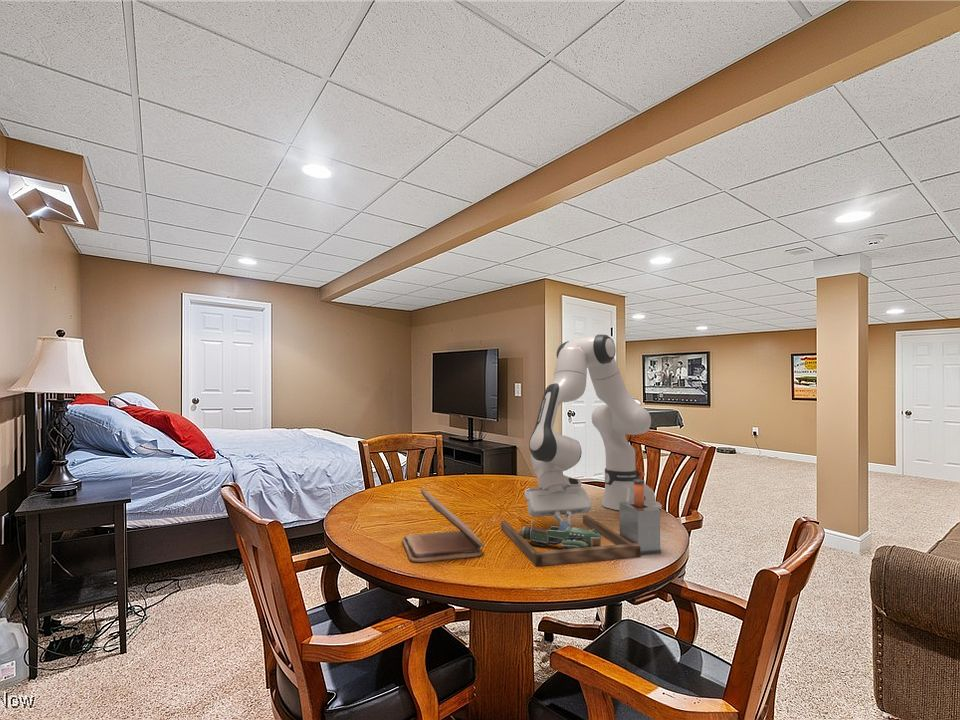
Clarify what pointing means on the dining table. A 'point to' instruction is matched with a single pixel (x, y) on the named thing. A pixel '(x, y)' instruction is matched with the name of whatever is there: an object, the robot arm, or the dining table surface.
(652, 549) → the grey holder box
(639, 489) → the orange and black cylinder
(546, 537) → the hoverbike
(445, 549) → the case
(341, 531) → the dining table surface
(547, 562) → the brown flat square frame
